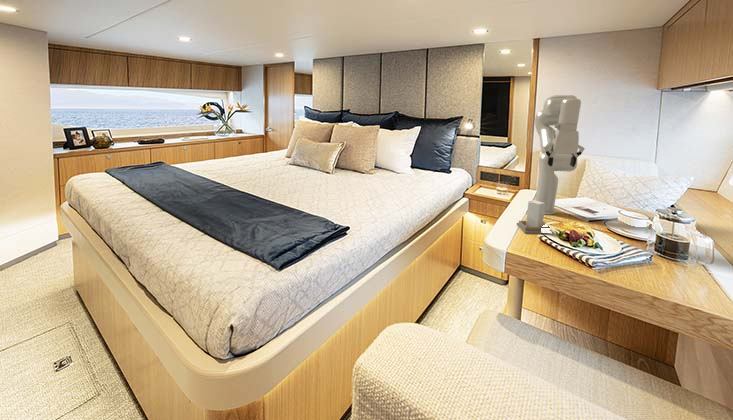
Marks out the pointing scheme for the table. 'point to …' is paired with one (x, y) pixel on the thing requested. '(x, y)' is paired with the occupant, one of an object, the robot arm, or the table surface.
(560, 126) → the robot arm
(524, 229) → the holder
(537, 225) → the skincare box
